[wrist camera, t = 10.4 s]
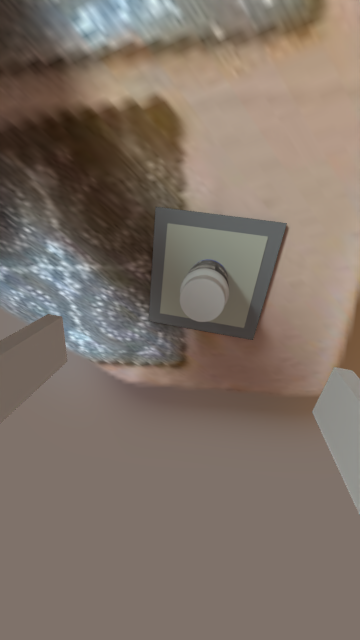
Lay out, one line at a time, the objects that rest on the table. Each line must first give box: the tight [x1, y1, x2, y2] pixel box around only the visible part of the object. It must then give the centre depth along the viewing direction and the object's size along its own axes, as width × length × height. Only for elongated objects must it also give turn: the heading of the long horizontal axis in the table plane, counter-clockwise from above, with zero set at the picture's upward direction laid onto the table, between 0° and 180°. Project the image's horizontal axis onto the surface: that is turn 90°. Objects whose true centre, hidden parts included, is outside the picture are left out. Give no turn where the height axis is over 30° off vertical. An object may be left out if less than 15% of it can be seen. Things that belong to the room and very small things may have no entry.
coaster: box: [149, 207, 287, 340], centre depth 27 cm, size 14×14×1 cm
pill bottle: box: [180, 259, 229, 322], centre depth 23 cm, size 5×5×8 cm
